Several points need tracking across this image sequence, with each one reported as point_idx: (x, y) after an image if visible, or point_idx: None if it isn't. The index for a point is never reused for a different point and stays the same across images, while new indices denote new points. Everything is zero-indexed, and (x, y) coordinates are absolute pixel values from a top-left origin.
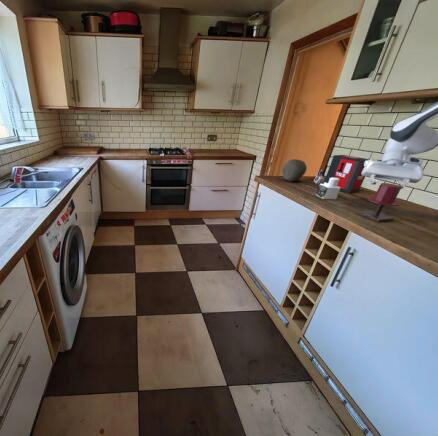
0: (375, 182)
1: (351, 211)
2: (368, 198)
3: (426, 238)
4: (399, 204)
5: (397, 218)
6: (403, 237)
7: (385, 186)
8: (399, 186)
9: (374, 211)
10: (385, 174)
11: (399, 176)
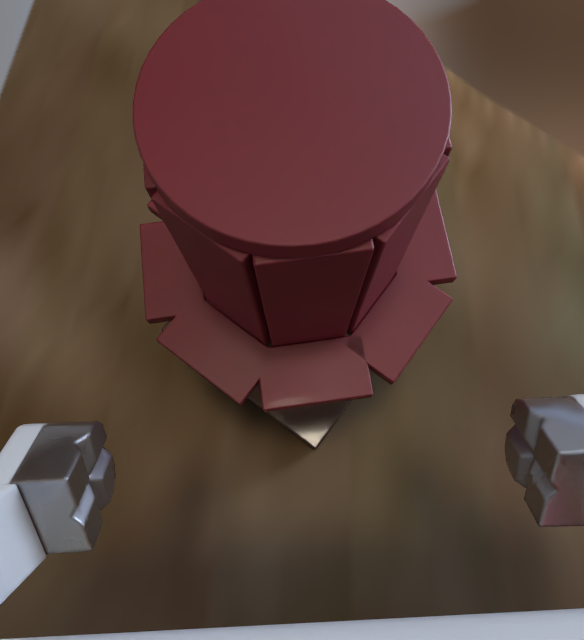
0: (539, 401)
1: (474, 337)
2: (443, 230)
3: (30, 100)
4: (141, 224)
5: (118, 444)
6: (160, 20)
7: (373, 10)
8: (159, 96)
9: (303, 423)
10: (513, 623)
11: (53, 637)
